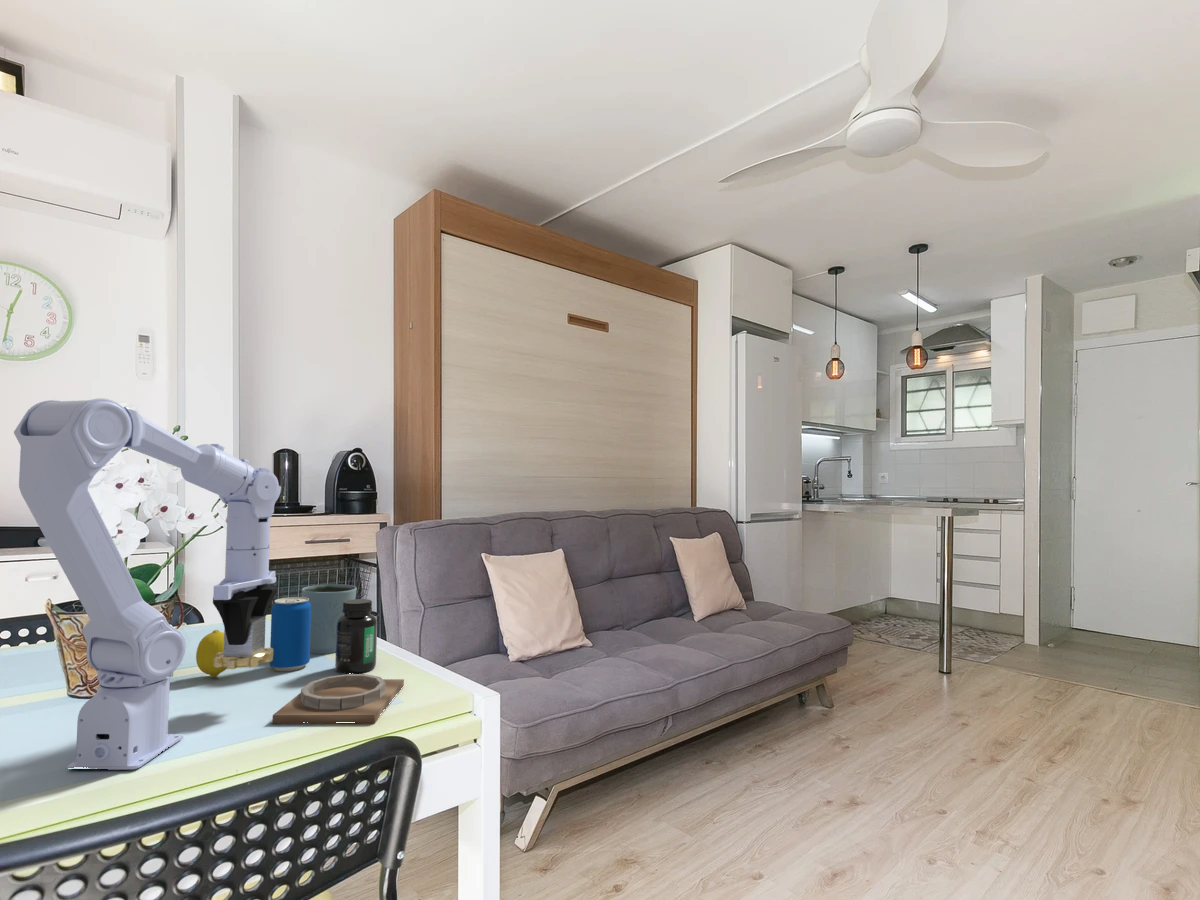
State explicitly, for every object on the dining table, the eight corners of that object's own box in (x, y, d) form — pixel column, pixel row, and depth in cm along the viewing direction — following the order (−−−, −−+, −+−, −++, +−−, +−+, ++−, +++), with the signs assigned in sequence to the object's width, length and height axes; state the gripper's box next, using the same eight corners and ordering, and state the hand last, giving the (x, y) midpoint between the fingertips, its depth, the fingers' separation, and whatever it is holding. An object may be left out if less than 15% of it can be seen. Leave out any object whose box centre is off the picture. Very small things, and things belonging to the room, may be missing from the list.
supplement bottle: (379, 671, 116) (380, 603, 116) (337, 676, 112) (339, 606, 113) (372, 661, 122) (374, 596, 122) (333, 666, 118) (334, 599, 119)
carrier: (374, 723, 92) (375, 703, 92) (272, 723, 91) (273, 704, 91) (403, 686, 108) (404, 670, 108) (317, 686, 107) (317, 670, 107)
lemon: (215, 683, 108) (217, 634, 108) (187, 681, 109) (189, 632, 109) (240, 673, 113) (242, 627, 114) (213, 671, 114) (214, 625, 115)
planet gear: (258, 669, 93) (259, 625, 93) (202, 669, 93) (203, 625, 93) (282, 654, 101) (283, 613, 101) (231, 653, 101) (232, 613, 101)
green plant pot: (292, 647, 131) (294, 586, 131) (343, 639, 138) (345, 581, 138) (310, 658, 123) (312, 594, 124) (363, 649, 130) (364, 588, 131)
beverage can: (310, 660, 122) (312, 595, 122) (308, 670, 116) (310, 602, 116) (271, 663, 119) (273, 597, 120) (267, 674, 113) (269, 604, 114)
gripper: (251, 554, 91) (248, 653, 90) (295, 543, 105) (293, 628, 104) (199, 553, 90) (195, 653, 90) (250, 542, 105) (247, 628, 104)
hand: (244, 640), depth 97 cm, fingers closed on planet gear, 4 cm apart
